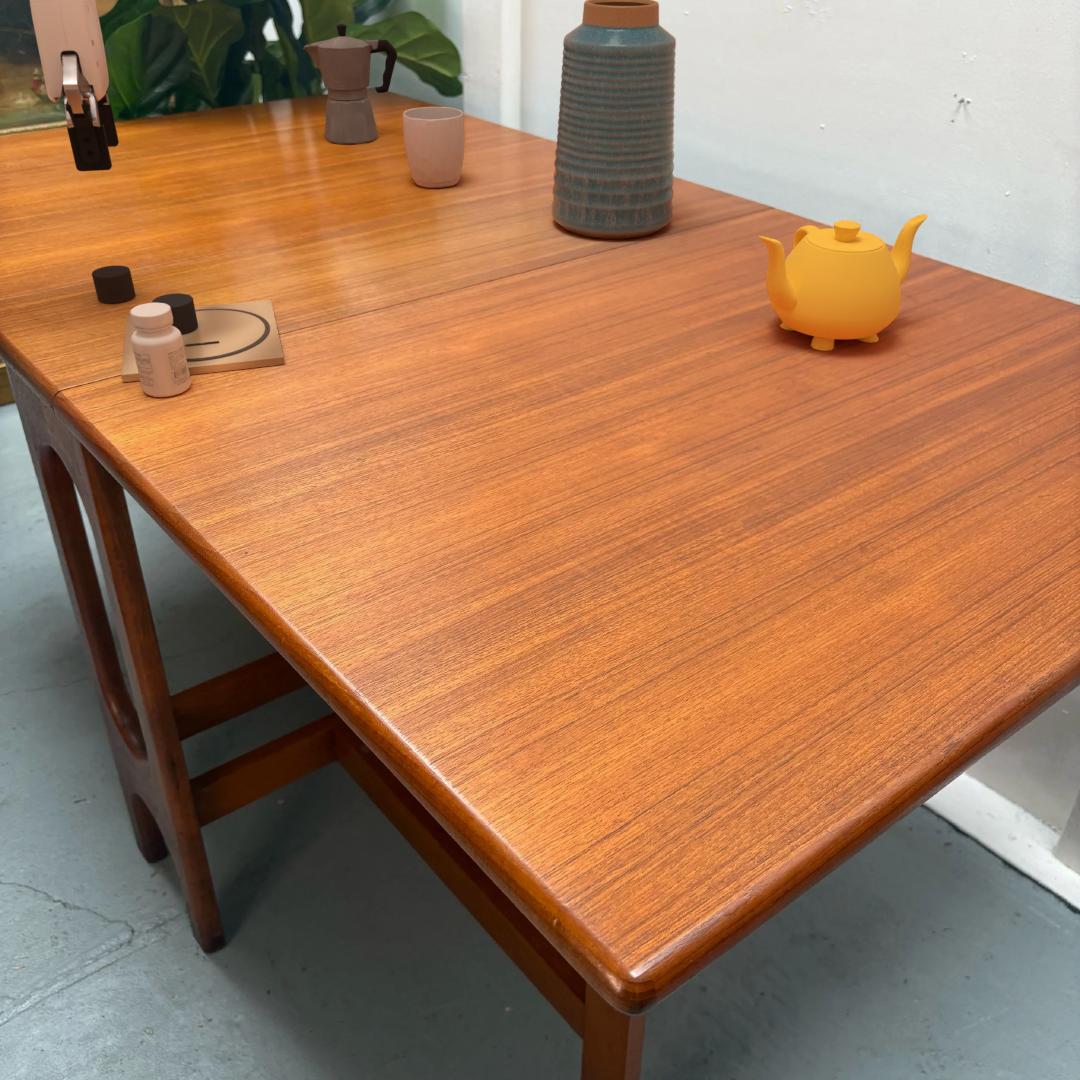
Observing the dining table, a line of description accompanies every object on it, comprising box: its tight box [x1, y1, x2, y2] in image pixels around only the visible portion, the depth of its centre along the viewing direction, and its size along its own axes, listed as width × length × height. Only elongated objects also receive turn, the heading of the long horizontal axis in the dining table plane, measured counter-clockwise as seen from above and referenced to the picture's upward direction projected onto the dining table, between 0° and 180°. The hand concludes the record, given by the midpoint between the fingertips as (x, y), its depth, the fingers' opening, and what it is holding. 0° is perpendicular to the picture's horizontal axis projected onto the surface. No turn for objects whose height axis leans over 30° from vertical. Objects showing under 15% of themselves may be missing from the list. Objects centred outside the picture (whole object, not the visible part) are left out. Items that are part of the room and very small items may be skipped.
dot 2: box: [151, 292, 198, 335], centre depth 104 cm, size 4×4×3 cm
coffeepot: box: [303, 23, 398, 145], centre depth 173 cm, size 15×9×18 cm, turn 95°
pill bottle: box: [130, 302, 192, 398], centre depth 93 cm, size 4×4×8 cm
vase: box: [550, 0, 677, 240], centre depth 131 cm, size 16×16×27 cm
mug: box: [402, 106, 466, 189], centre depth 153 cm, size 13×9×10 cm
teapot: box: [758, 213, 928, 352], centre depth 105 cm, size 20×15×12 cm
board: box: [120, 299, 286, 383], centre depth 104 cm, size 15×16×1 cm
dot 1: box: [91, 264, 136, 305], centre depth 113 cm, size 4×4×3 cm
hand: (99, 157), depth 102 cm, fingers open, 9 cm apart
